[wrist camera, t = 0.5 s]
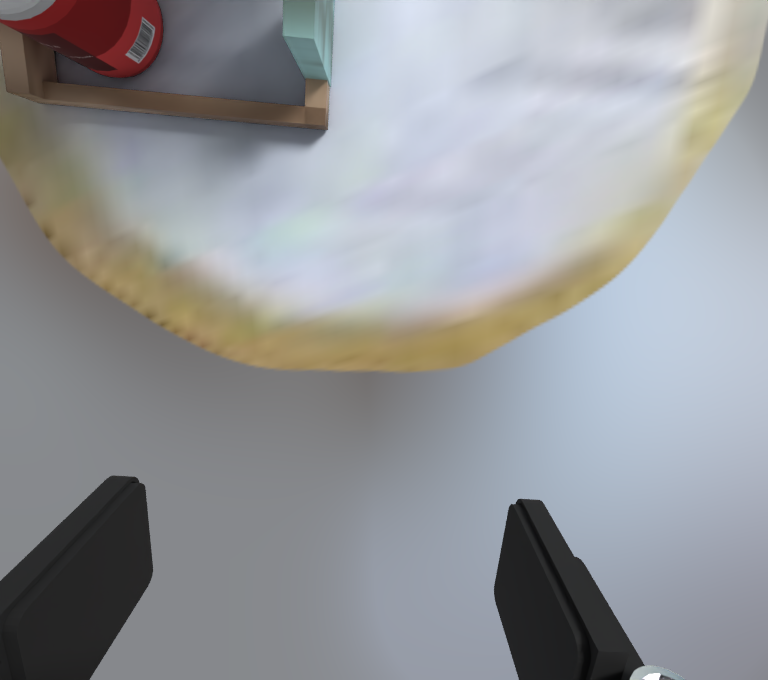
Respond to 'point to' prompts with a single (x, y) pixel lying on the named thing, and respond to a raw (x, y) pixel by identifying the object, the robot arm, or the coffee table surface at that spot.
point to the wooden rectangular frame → (304, 38)
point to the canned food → (92, 31)
